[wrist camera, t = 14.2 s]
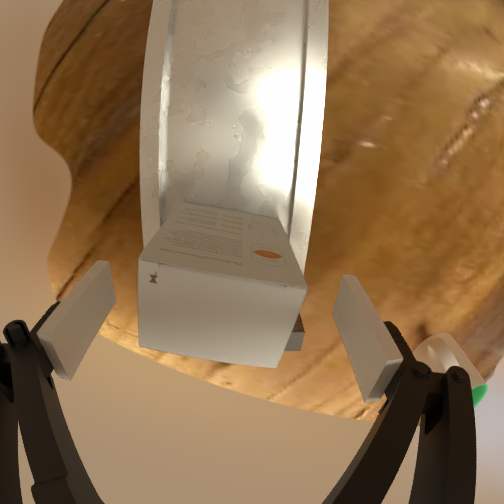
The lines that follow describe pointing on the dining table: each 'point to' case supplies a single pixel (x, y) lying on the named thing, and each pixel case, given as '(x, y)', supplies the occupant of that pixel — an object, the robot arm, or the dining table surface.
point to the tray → (234, 112)
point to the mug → (449, 360)
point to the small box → (219, 287)
